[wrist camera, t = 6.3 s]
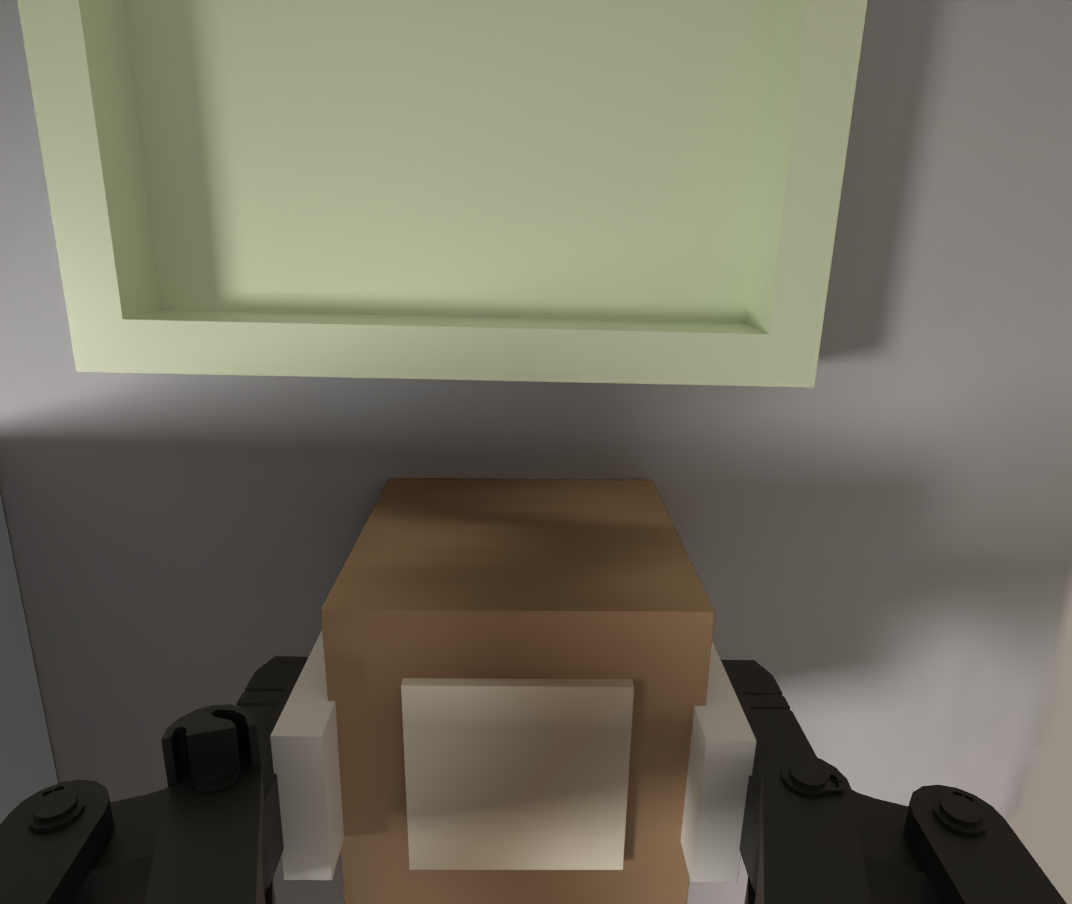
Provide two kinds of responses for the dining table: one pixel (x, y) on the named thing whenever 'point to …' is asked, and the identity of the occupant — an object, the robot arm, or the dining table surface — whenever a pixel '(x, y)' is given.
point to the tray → (446, 185)
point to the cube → (516, 693)
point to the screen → (19, 696)
